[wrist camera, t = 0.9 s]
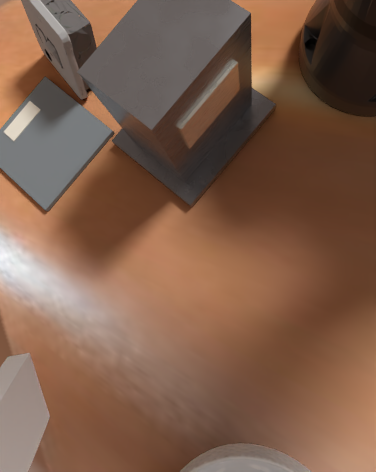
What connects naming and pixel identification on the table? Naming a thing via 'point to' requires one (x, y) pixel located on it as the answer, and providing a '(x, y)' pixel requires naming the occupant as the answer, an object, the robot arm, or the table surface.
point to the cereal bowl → (244, 460)
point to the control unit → (180, 89)
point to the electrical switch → (63, 38)
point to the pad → (49, 143)
